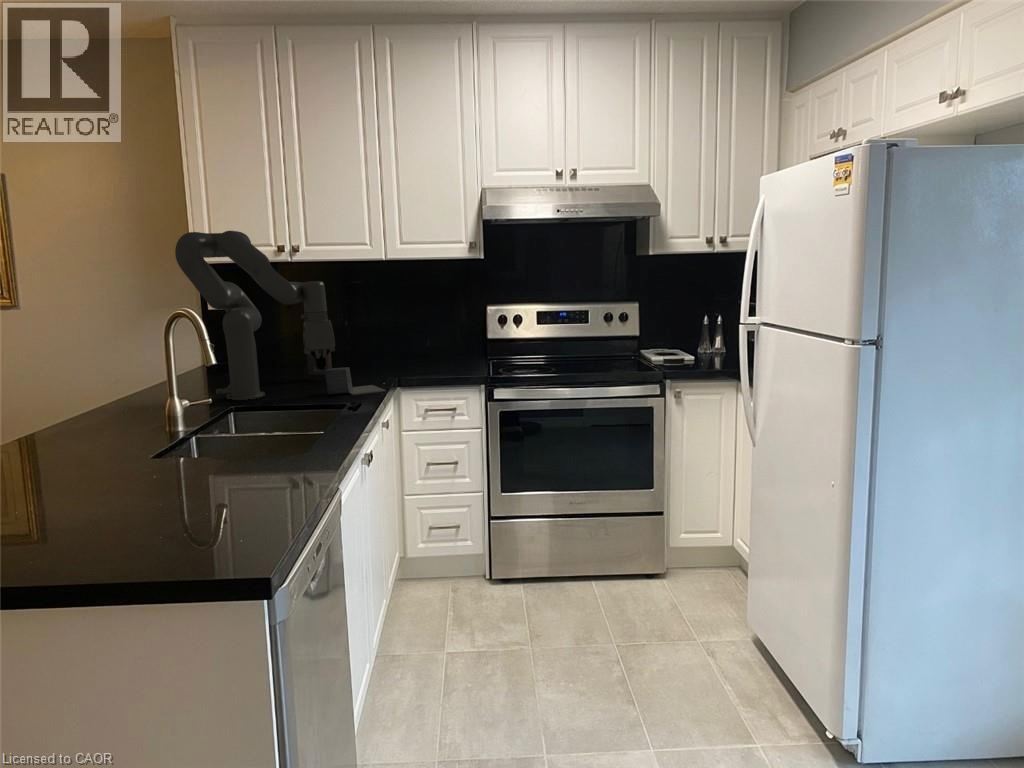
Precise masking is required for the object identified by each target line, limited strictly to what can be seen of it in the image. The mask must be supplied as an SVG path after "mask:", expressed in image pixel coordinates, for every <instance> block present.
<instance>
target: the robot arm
mask: <svg viewBox="0 0 1024 768" xmlns="http://www.w3.org/2000/svg"><path fill="white" fill-rule="evenodd" d="M174 252H175V253H174V254H175V260H176V263H177V264H178V267H179V268H180V269H181V271H182V272H183V274H184V275H185V276H186V278H187V279H188V281H190V282H191V283H192V284H193V287H194V288H195V289H196V290H197V291H198V293H199V294H200V295H201V296H202V298H203V299H204V300H205V301H206V303H207V304H208V305H209V306H210V307H211V308H212V309H215V310H224V311H225V314H224V316H223V319H222V329H223V333H224V339H225V342H226V343H225V344H226V354H227V362H228V363H227V364H228V374H229V375H228V376H229V384H228V386H225V387H224V388H217V389H216V391H215V392H216V395H226V399H227V400H229V399H232V400H231V401H249V400H248V399H250V400H257V399H261V398H263V396H264V397H265V396H266V393H265V392H264V391H261V389H260V379H259V366H258V365H259V364H258V351H257V344H256V340H255V334H254V332H256V331H257V330H258V329H260V327H261V325H262V322H263V321H262V319H263V318H262V314H261V313H260V311H259V309H258V308H257V307H256V306H255V305H254V303H253V302H252V301H251V299H250V298H249V296H248V295H247V294H246V293H245V292H244V290H242V288H241V287H240V286H238V285H237V284H236V283H234V282H231V281H224V279H222V278H221V277H220V275H219V274H218V273H217V271H216V270H215V269H214V268H213V266H211V265H210V264H209V263H208V261H206V259H207V258H208V259H210V258H229V259H230V260H231V261H232V262H234V263H235V264H236V265H237V266H239V267H240V268H241V269H243V271H245V272H246V273H247V274H248V275H249V276H251V278H252V280H253V281H255V282H256V283H257V285H259V287H260V288H261V289H262V290H263V291H264V292H265V293H267V294H268V295H269V296H271V297H272V298H273V299H274V300H276V301H277V302H279V303H280V304H283V305H294V304H298V303H299V304H300V303H303V307H304V308H303V309H304V313H303V314H300V319H301V320H302V319H303V320H304V321H303V324H302V325H303V326H302V327H303V328H302V340H303V341H302V343H303V348H304V349H303V354H305V355H306V354H311V355H312V356H314V357H315V358H316V367H318V369H319V370H322V369H325V367H326V360H325V358H326V356H327V355H328V354H329V352H331V353H332V352H335V351H336V348H335V346H336V342H335V341H336V340H335V334H334V329H333V324H332V322H331V319H329V317H328V309H327V308H328V307H327V299H326V298H327V296H326V295H327V294H326V287H325V285H326V284H325V283H324V281H321V280H315V281H313V280H311V281H305V282H302V281H301V282H300V281H288V280H287V279H286V278H285V277H283V276H282V275H281V274H280V273H279V272H277V270H275V269H274V268H273V266H272V265H271V262H270V260H269V259H270V258H268V256H267V255H266V254H264V253H263V252H262V251H261V250H259V249H258V248H257V247H256V246H255V245H253V244H252V241H251V239H250V237H249V236H248V235H247V234H245V232H242V231H239V230H238V231H236V230H226V231H224V232H212V233H210V232H207V233H205V232H199V231H198V232H197V231H189V232H186V233H184V234H183V235H181V236H180V237H179V238H178V241H177V242H176V245H175V248H174ZM309 350H311V351H309ZM312 350H313V351H312ZM318 350H321V356H319V352H318ZM260 397H261V398H260ZM256 398H257V399H256Z"/></svg>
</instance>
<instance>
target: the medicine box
mask: <svg viewBox="0 0 1024 768" xmlns="http://www.w3.org/2000/svg"><path fill="white" fill-rule="evenodd" d="M351 375H352V374H351V369H350V367H335V368H333V367H332V369H328V370H326V371H325V376H326V381H325V383H326V389H327V394H328V395H334V394H335V395H337V394H349V392H351V391H352V390H353V388H352V387H353V382H352V376H351Z"/></svg>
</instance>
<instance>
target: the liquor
mask: <svg viewBox="0 0 1024 768" xmlns="http://www.w3.org/2000/svg"><path fill="white" fill-rule="evenodd" d="M309 351H311V350H309ZM312 351H313V350H312ZM318 352H319V356H321V350H318ZM331 353H332V352H329V354H328V355H327V356H326V358H325V360H326V367H325V369H322V370H319V369H318V367H316V358H315V357H314V356H312V355H311V354H305V356H306V358H305V359H306V370H307V373H306V374H307V378H308V381H309V382H312V383H313V382H314V383H316V382H326V376H325V371H326V370H328V369H332V368H333V365H332V354H331Z"/></svg>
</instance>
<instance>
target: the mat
mask: <svg viewBox="0 0 1024 768" xmlns="http://www.w3.org/2000/svg"><path fill="white" fill-rule="evenodd" d="M352 388H353V390H352V391H351V392H349V393H348V394H349V395H351V396H360V395H369V394H370V395H371V394H377V393H378V394H379V393H385V392H386V393H387V390H386V389H384V388H381V387H380V386H379V387H378V386H376V385H374V384H369V385H361V386H360V385H359V386H352Z"/></svg>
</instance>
